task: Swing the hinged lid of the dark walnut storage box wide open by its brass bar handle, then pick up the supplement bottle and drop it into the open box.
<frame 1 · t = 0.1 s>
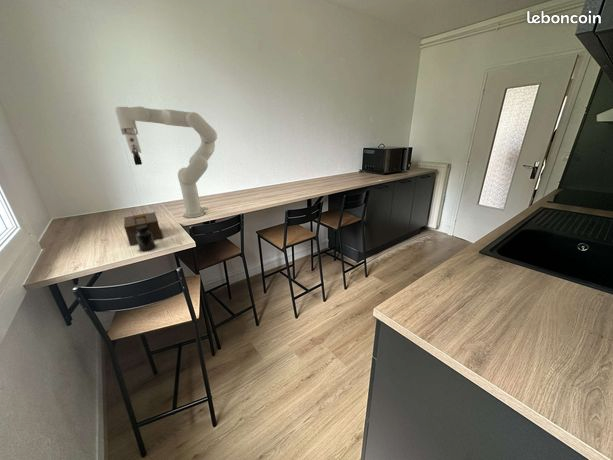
hand: (138, 163, 145), 37 cm above the worktop, tool pointing down, fingers open, 9 cm apart
supplement bottle: (148, 248, 127), on the worktop
lid: (139, 215, 134), point 13 cm above the worktop, hinge at 0.0°
walnut box: (146, 236, 140), on the worktop
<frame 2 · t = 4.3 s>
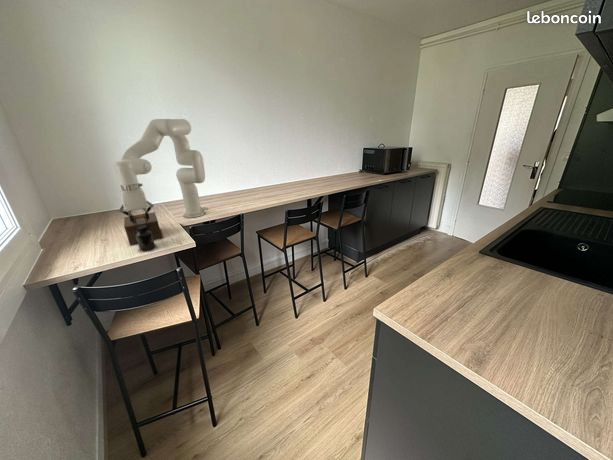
hand: (140, 221, 130), 12 cm above the worktop, tool pointing down, fingers closed on lid, 5 cm apart
lid: (139, 215, 134), point 13 cm above the worktop, hinge at 0.0°, touching gripper
everything else where it was.
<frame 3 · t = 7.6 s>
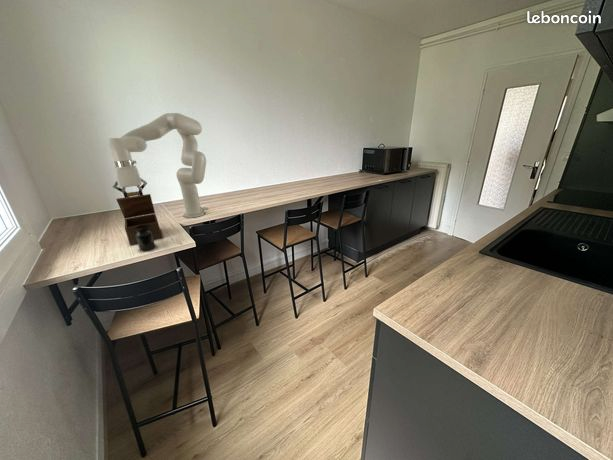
hand: (134, 198, 133), 22 cm above the worktop, tool pointing down, fingers closed on lid, 5 cm apart
lid: (136, 203, 136), point 18 cm above the worktop, hinge at 52.9°, touching gripper
everything else where it was.
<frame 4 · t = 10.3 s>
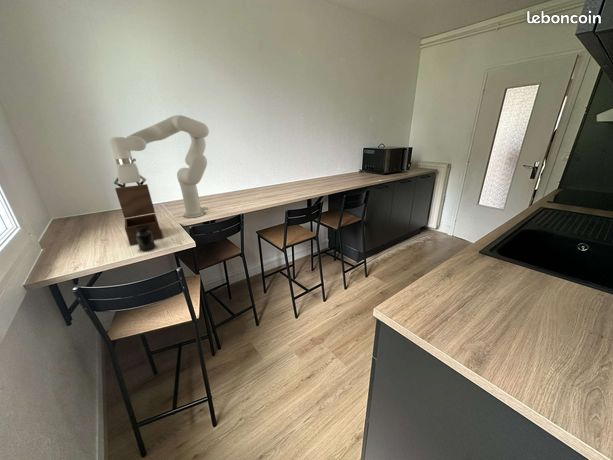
hand: (134, 193, 142), 21 cm above the worktop, tool pointing down, fingers closed on lid, 5 cm apart
lid: (135, 200, 141), point 18 cm above the worktop, hinge at 95.4°, touching gripper
everything else where it was.
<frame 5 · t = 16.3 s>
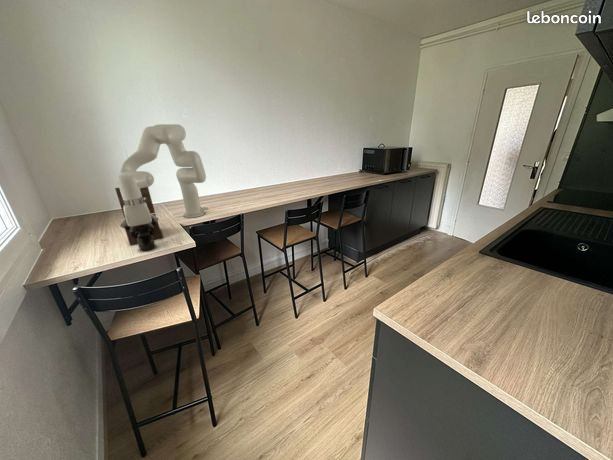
hand: (144, 235, 124), 7 cm above the worktop, tool pointing down, fingers closed on supplement bottle, 6 cm apart
supplement bottle: (148, 248, 127), on the worktop, touching gripper
lid: (135, 200, 141), point 18 cm above the worktop, hinge at 95.6°
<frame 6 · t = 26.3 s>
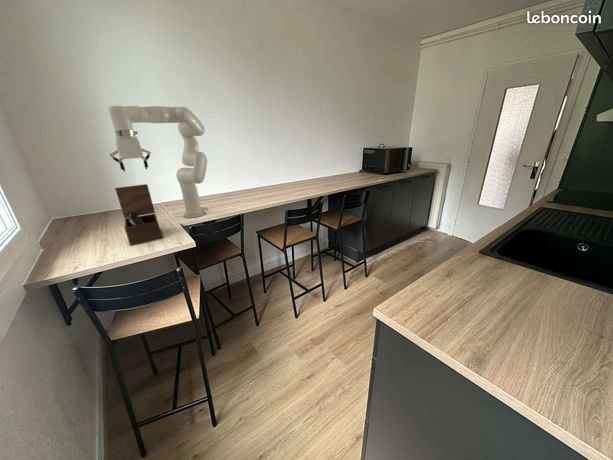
hand: (135, 169, 129), 36 cm above the worktop, tool pointing down, fingers open, 9 cm apart
supplement bottle: (144, 232, 137), point 3 cm above the worktop, touching lid, walnut box
lid: (135, 200, 141), point 18 cm above the worktop, hinge at 95.7°, touching supplement bottle
at the end: lid at +96° (first picture: +0°); supplement bottle inside the target area in the walnut box (1.5 cm from its centre), point 3.0 cm above the walnut box's base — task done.
